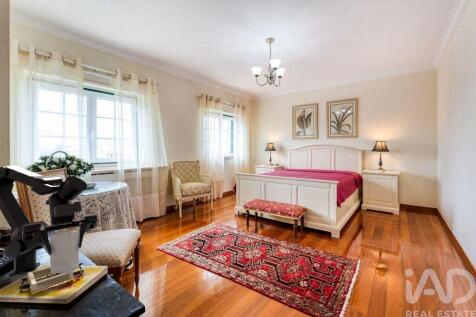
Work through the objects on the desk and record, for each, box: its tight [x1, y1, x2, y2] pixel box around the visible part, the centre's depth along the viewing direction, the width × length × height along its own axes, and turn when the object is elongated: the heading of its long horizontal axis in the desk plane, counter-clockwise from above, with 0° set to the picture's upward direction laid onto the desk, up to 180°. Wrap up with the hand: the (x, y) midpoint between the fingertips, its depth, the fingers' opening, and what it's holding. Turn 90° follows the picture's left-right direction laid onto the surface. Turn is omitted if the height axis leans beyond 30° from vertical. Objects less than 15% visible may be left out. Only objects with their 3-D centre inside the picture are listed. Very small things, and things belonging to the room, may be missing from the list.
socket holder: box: [27, 265, 74, 294], centre depth 72 cm, size 10×10×3 cm
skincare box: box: [49, 229, 80, 274], centre depth 68 cm, size 6×4×12 cm
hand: (65, 251), depth 67 cm, fingers closed on skincare box, 7 cm apart
